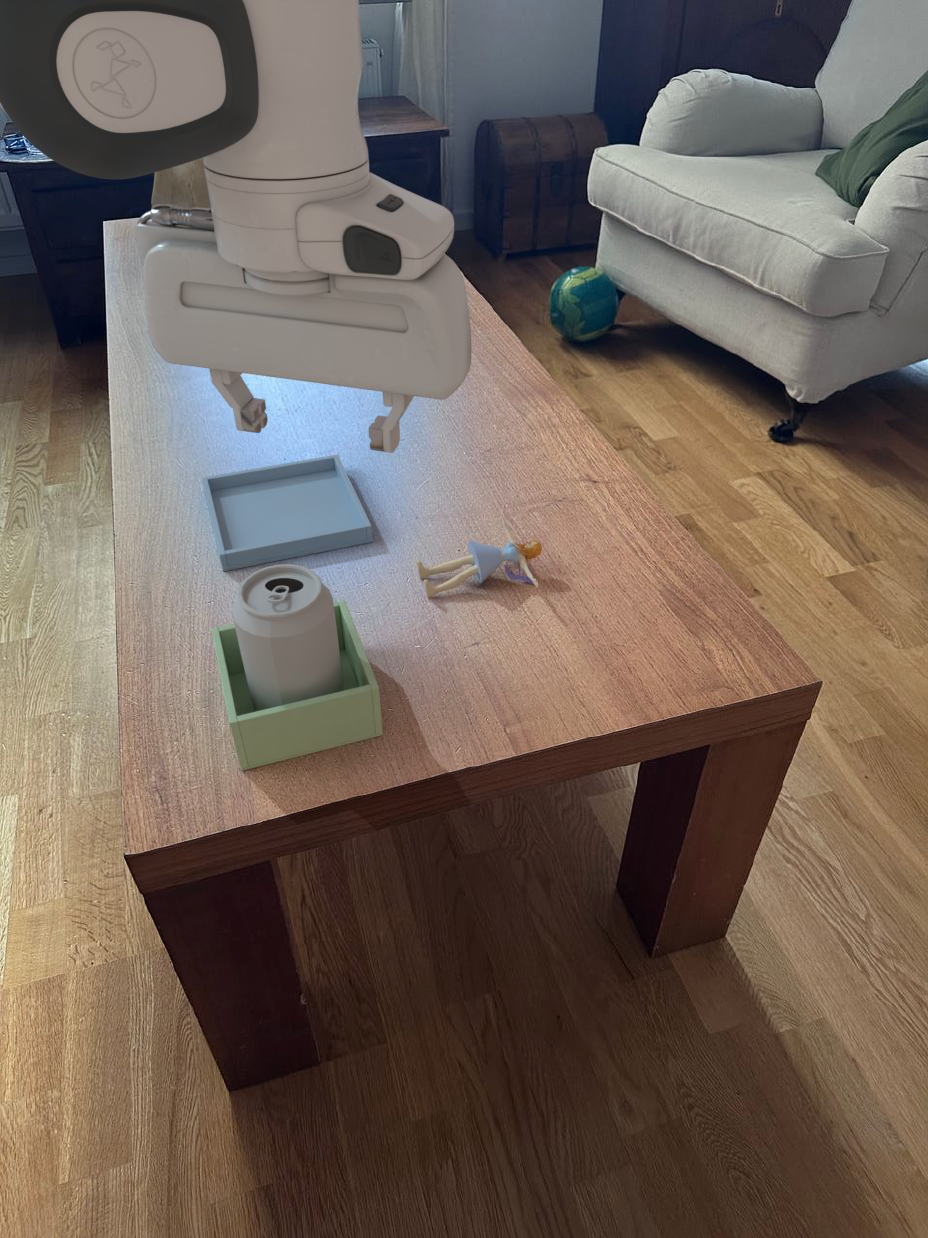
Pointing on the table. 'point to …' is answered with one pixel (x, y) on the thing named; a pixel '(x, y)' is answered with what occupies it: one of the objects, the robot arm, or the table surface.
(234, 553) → the tray
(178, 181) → the vase
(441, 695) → the table surface
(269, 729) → the bin
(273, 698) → the can
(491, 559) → the fairy figurine
